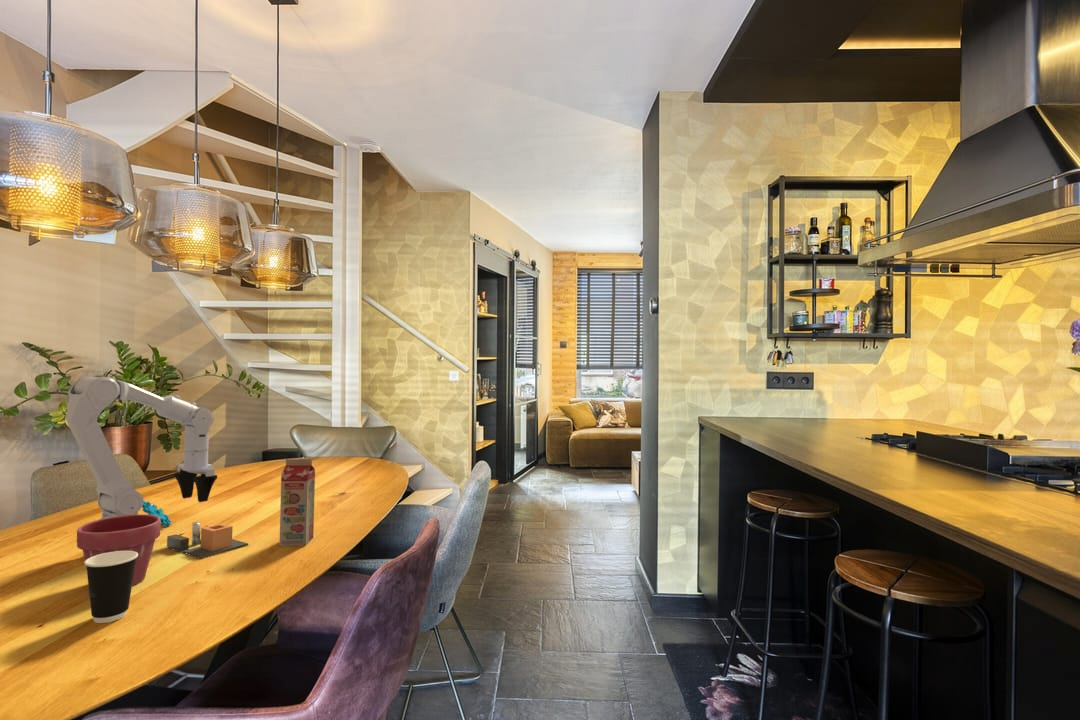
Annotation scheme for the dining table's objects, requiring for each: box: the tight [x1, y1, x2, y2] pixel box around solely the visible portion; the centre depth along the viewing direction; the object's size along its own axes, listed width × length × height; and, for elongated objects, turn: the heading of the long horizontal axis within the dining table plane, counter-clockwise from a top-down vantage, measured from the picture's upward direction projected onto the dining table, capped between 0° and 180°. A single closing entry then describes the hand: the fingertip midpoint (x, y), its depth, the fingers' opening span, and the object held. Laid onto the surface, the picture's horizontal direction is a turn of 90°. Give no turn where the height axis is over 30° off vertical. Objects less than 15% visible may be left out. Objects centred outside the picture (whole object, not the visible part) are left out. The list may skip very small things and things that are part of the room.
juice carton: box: [278, 458, 316, 547], centre depth 148 cm, size 7×7×22 cm
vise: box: [166, 521, 201, 553], centre depth 146 cm, size 13×6×6 cm, turn 151°
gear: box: [141, 500, 172, 527], centre depth 159 cm, size 11×6×10 cm
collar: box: [200, 523, 234, 551], centre depth 141 cm, size 5×5×5 cm
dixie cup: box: [84, 551, 138, 624], centre depth 103 cm, size 8×8×11 cm
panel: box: [182, 538, 249, 559], centre depth 141 cm, size 12×8×1 cm, turn 151°
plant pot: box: [76, 514, 162, 586], centre depth 119 cm, size 14×14×13 cm
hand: (195, 499), depth 154 cm, fingers open, 7 cm apart
